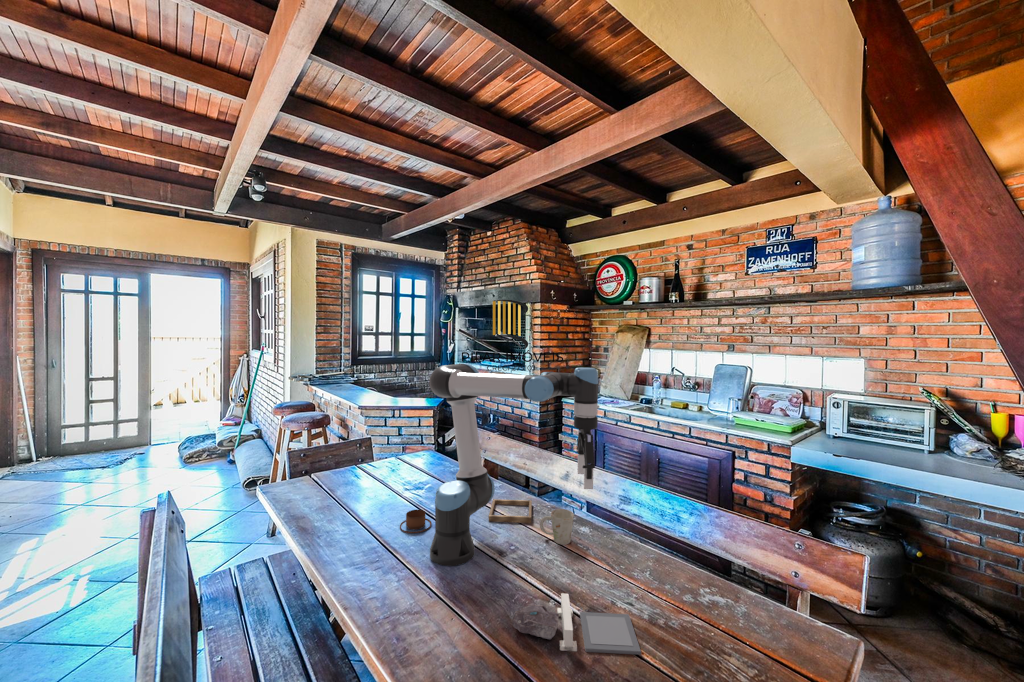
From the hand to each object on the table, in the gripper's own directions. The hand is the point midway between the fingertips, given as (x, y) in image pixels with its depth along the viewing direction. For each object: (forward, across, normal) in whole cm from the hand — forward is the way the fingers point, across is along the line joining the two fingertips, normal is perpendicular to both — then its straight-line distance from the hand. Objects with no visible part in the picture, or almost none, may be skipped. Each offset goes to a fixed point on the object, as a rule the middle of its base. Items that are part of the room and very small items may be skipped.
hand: (584, 480), depth 134 cm
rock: (+29, -28, +20) cm, 45 cm away
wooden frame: (+28, +38, +24) cm, 54 cm away
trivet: (+28, -30, -2) cm, 41 cm away
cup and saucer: (+29, +25, +61) cm, 72 cm away
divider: (+28, -29, +9) cm, 41 cm away
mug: (+29, +18, +7) cm, 34 cm away
